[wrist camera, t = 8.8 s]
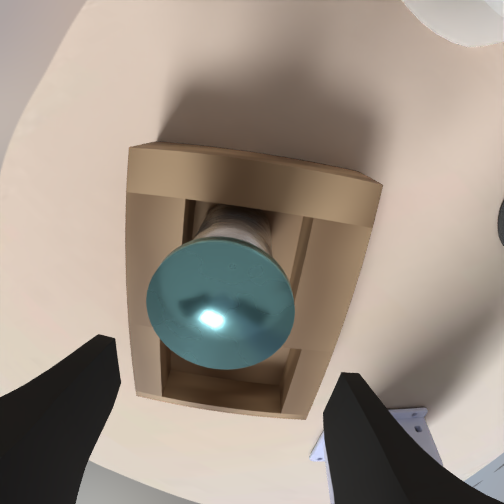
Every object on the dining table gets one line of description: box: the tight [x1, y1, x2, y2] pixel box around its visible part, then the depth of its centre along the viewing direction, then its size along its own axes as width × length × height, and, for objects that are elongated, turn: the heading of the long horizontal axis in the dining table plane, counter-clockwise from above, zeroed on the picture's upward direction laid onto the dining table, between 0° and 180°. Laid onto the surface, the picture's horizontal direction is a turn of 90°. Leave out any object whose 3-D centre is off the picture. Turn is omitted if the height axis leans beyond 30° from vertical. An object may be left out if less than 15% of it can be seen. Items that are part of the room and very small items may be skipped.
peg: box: [146, 203, 295, 370], centre depth 13 cm, size 5×5×8 cm
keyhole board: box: [125, 142, 383, 420], centre depth 17 cm, size 11×15×4 cm
